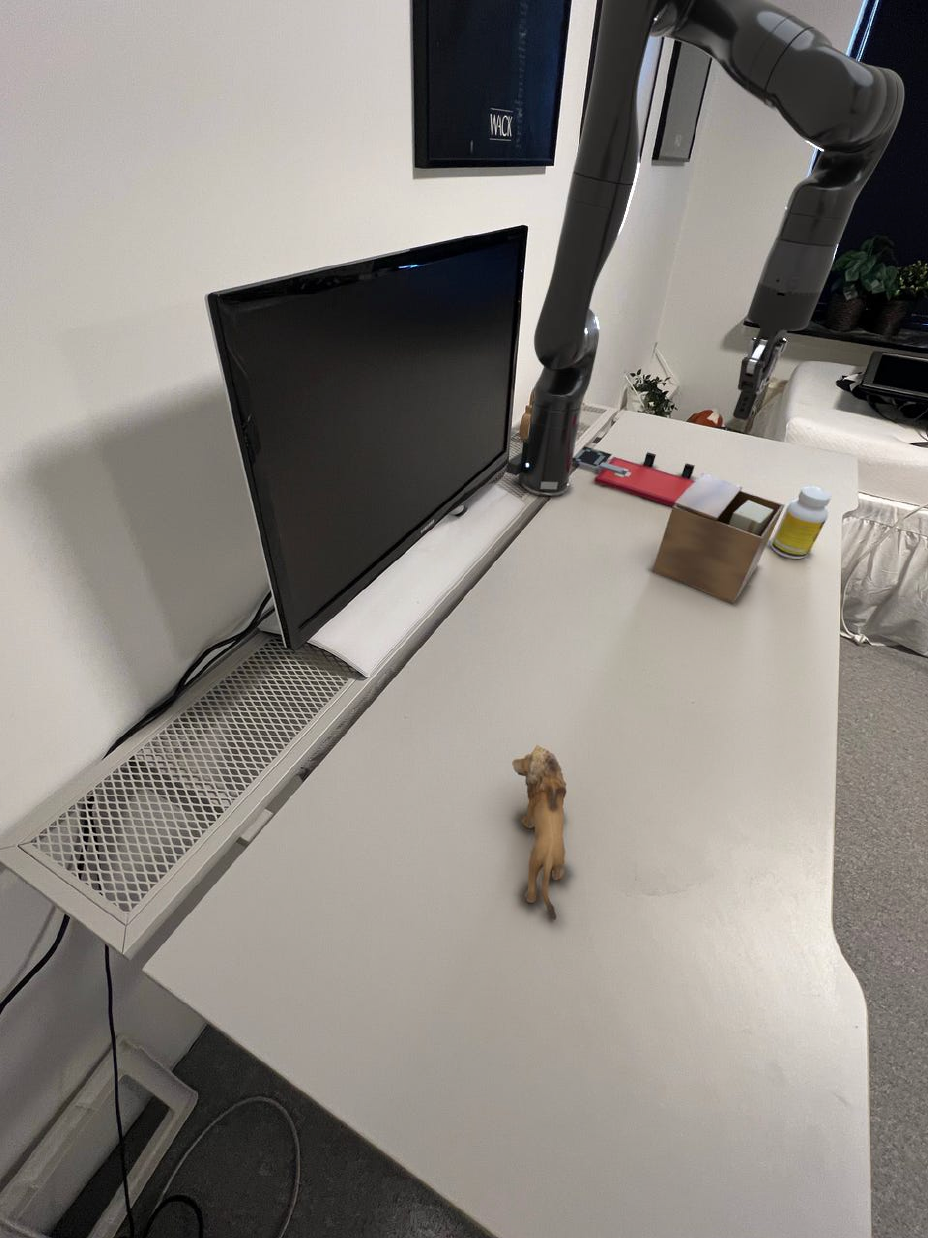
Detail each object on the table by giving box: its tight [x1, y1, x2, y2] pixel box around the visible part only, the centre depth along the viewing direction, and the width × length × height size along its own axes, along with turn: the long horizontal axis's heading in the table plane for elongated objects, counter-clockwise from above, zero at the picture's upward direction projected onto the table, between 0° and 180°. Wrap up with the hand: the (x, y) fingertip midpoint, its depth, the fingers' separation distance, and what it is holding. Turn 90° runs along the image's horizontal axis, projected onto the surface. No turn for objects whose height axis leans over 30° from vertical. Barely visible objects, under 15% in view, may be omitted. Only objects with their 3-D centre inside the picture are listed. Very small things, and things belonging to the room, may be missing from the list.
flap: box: [674, 473, 743, 520], centre depth 95 cm, size 7×13×1 cm, turn 144°
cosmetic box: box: [729, 500, 773, 537], centre depth 96 cm, size 6×4×12 cm
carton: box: [652, 489, 786, 605], centre depth 98 cm, size 14×13×12 cm
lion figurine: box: [511, 744, 567, 921], centre depth 59 cm, size 15×5×9 cm, turn 6°
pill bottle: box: [770, 485, 832, 560], centre depth 104 cm, size 6×6×12 cm
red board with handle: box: [572, 445, 696, 507], centre depth 124 cm, size 30×3×15 cm
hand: (741, 417), depth 86 cm, fingers closed
